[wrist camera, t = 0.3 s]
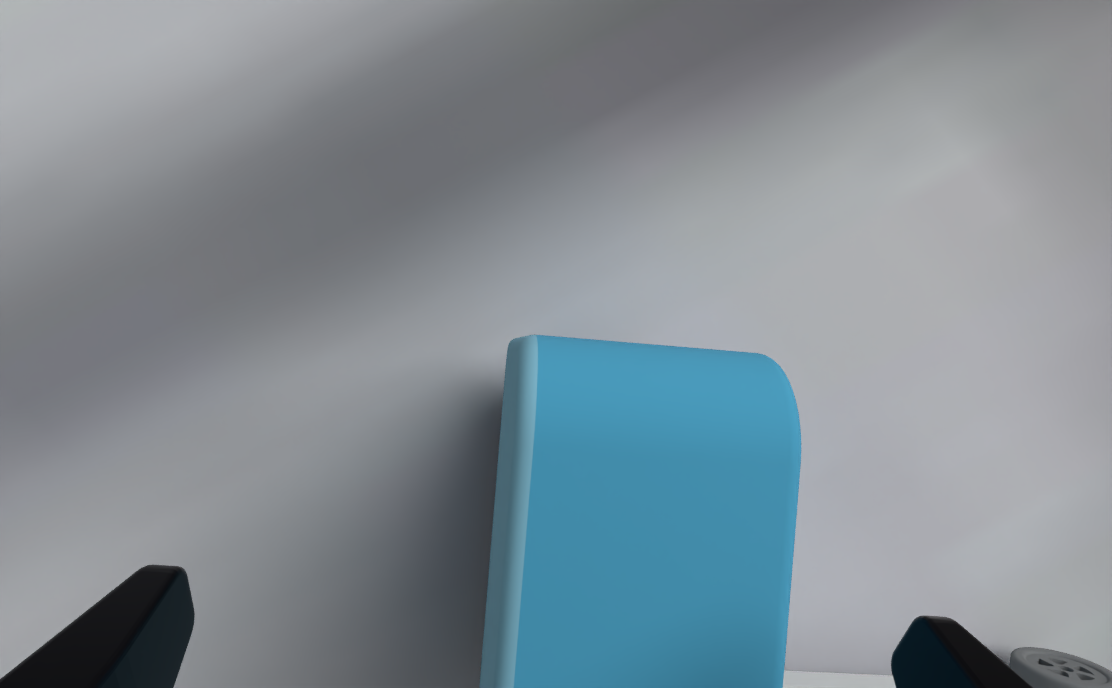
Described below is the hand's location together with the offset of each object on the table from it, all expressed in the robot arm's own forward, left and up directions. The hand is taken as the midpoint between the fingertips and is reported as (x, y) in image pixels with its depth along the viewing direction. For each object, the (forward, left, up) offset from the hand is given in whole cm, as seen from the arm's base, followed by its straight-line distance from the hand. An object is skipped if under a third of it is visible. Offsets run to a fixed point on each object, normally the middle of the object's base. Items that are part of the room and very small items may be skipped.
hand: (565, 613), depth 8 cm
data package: (-3, 0, -14) cm, 14 cm away
